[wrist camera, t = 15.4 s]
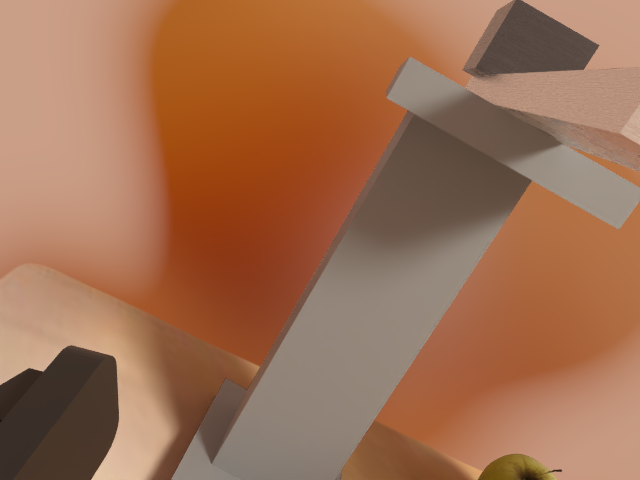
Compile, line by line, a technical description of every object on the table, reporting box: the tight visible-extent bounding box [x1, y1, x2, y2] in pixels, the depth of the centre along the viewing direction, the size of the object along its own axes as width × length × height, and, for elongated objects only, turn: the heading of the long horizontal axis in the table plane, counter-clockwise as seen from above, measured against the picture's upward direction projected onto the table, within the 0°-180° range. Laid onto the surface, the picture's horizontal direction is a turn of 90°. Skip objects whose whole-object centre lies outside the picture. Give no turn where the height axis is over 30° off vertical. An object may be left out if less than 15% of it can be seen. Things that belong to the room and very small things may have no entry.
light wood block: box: [462, 0, 640, 172], centre depth 25 cm, size 28×5×6 cm, turn 173°
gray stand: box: [171, 57, 640, 480], centre depth 41 cm, size 20×12×32 cm, turn 173°
